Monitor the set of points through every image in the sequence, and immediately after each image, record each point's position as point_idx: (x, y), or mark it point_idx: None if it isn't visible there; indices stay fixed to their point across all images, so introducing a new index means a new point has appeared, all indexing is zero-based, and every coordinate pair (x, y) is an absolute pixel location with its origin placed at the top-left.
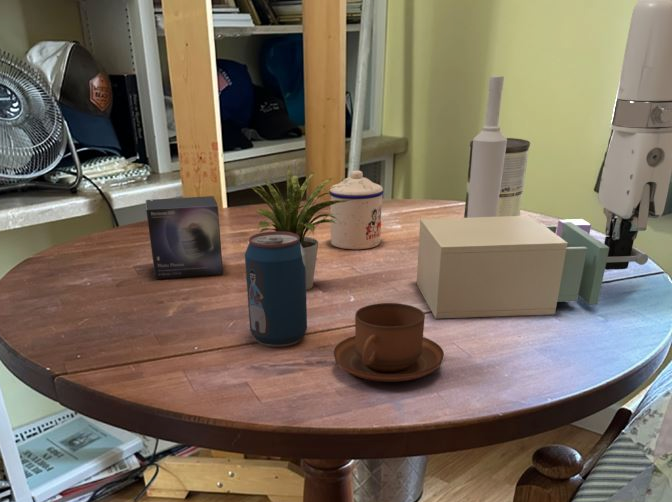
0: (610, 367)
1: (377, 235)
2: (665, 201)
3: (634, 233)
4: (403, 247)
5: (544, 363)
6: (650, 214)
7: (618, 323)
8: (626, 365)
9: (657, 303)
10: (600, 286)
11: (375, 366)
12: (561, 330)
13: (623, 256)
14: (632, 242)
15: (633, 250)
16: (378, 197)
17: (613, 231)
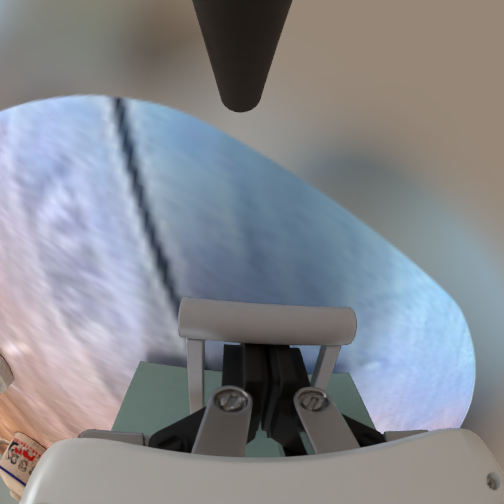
0: (465, 382)
1: (35, 452)
2: (500, 469)
3: (352, 423)
4: (31, 428)
5: (428, 425)
6: (376, 445)
7: (400, 347)
8: (471, 368)
9: (346, 226)
10: (359, 397)
11: None
12: (381, 412)
13: (319, 378)
14: (295, 373)
15: (288, 343)
16: (22, 480)
17: (281, 455)
